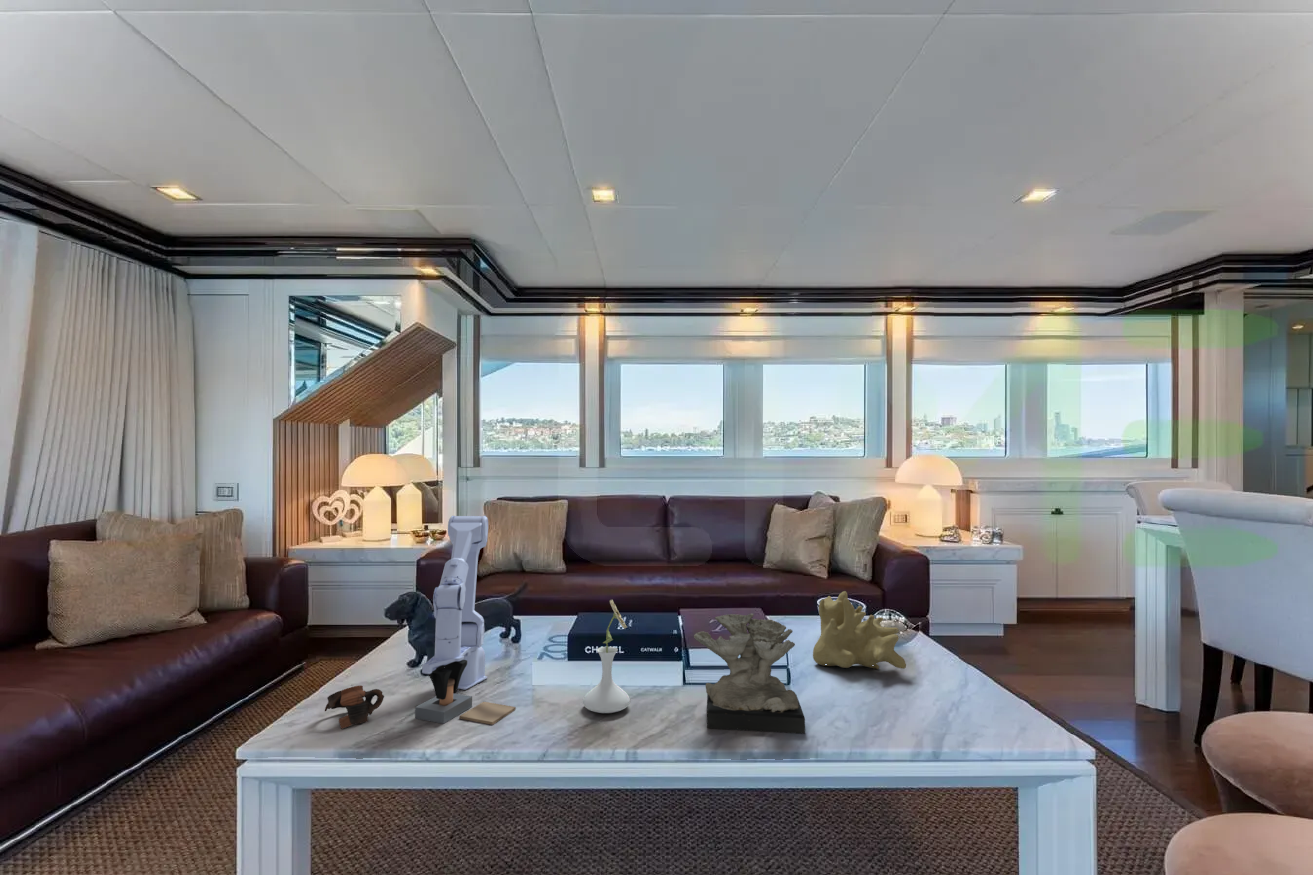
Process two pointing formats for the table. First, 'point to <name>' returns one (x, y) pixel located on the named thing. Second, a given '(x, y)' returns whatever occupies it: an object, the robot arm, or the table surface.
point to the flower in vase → (607, 679)
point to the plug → (448, 693)
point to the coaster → (487, 713)
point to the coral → (751, 678)
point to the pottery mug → (354, 704)
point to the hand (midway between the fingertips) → (446, 695)
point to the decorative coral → (853, 637)
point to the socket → (443, 709)
